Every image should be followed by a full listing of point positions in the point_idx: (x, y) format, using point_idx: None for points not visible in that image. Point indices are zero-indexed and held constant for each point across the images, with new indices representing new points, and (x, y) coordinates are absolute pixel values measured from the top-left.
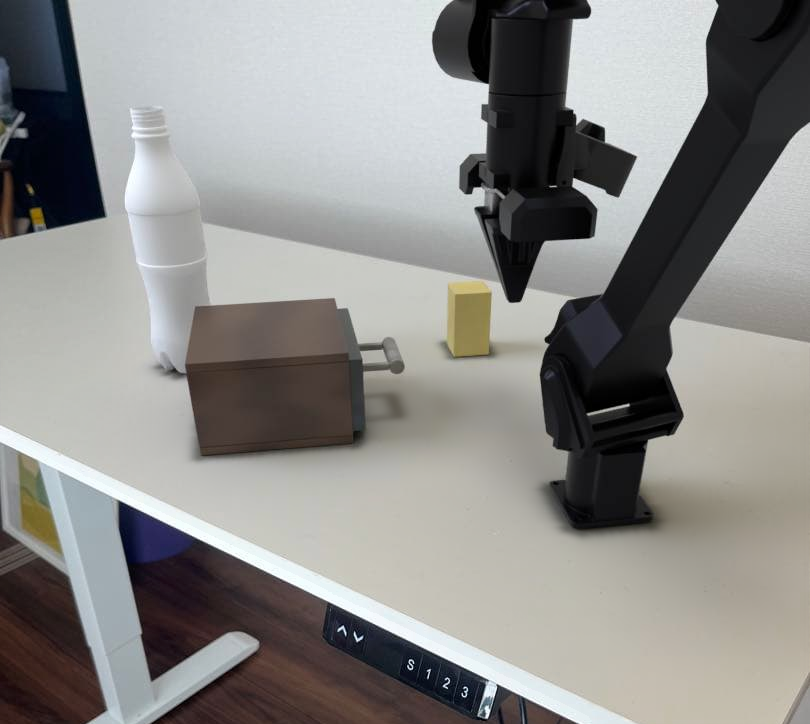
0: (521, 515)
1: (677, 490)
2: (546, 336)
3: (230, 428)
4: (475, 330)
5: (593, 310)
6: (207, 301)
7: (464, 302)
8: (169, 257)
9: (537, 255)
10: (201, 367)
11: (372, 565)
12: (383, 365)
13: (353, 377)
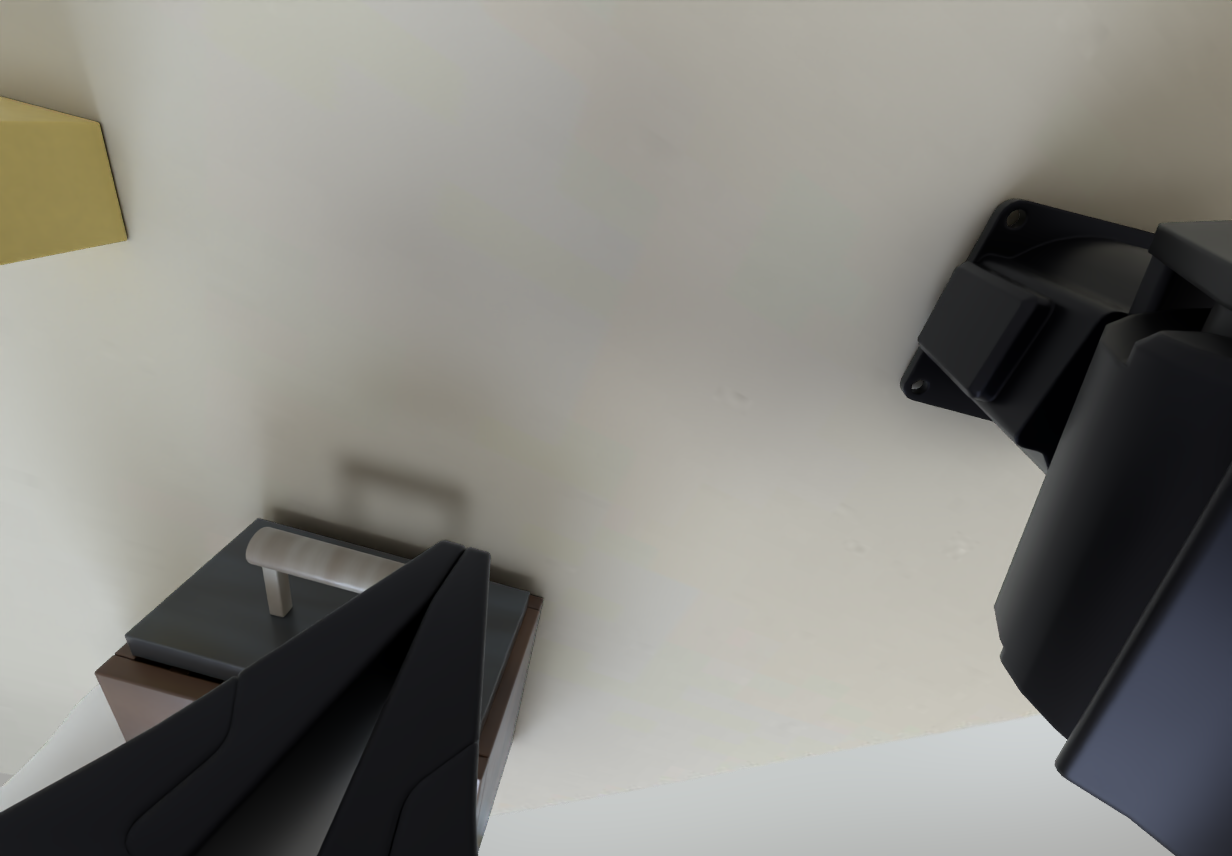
0: (945, 486)
1: (1167, 59)
2: (1083, 788)
3: (504, 759)
4: (23, 179)
5: None
6: (75, 763)
7: None
8: None
9: (473, 843)
10: None
11: (905, 702)
12: None
13: (490, 704)
